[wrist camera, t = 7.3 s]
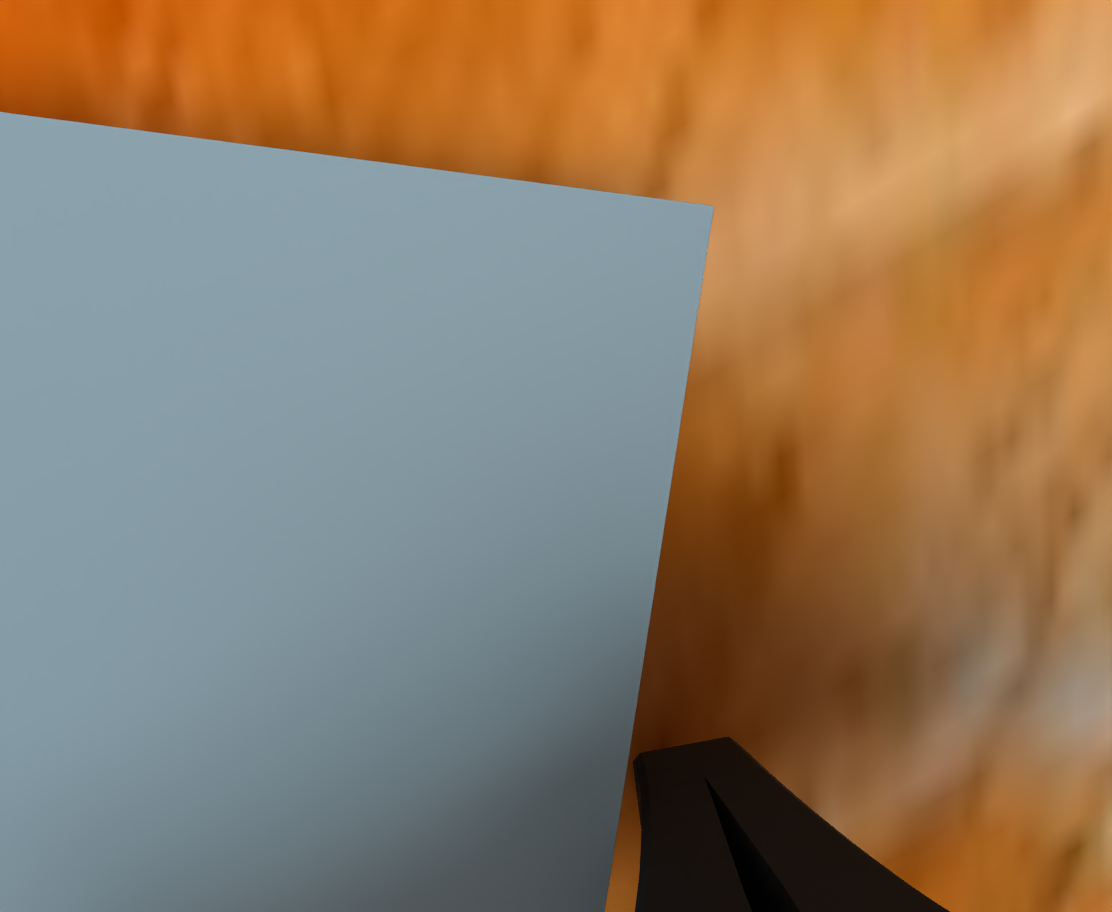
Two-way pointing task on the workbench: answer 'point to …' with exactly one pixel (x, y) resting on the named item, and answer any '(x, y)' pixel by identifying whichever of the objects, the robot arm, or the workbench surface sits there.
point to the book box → (324, 524)
